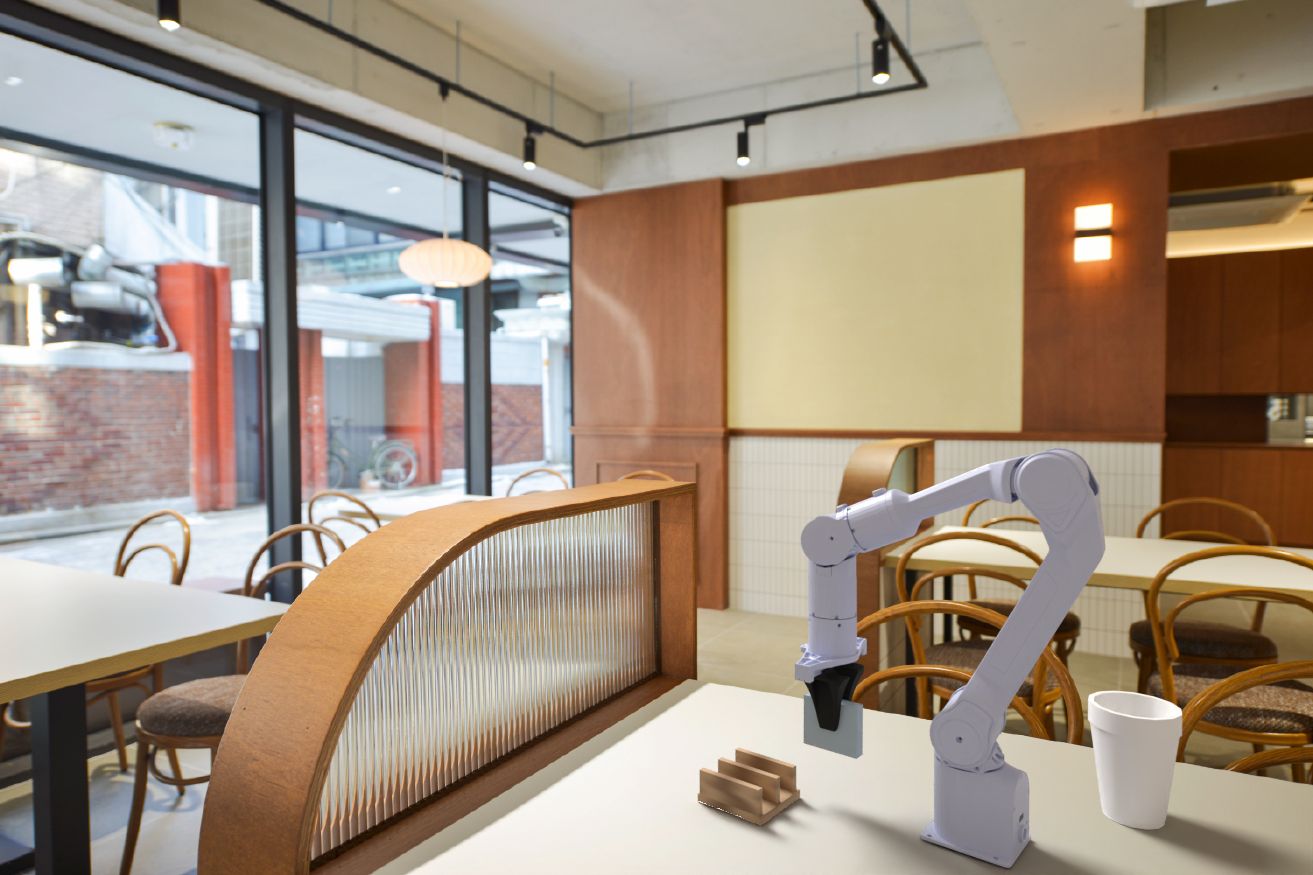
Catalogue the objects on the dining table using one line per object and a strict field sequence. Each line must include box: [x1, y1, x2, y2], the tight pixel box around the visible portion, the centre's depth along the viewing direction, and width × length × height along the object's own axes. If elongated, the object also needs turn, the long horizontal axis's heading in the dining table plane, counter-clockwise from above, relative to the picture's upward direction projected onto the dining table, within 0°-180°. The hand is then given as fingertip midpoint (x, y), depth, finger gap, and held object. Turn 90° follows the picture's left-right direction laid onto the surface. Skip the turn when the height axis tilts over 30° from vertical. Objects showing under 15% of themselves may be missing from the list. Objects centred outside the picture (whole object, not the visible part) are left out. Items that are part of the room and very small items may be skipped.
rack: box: [697, 747, 801, 826], centre depth 97 cm, size 9×9×4 cm
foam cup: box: [1087, 690, 1183, 831], centre depth 93 cm, size 10×9×13 cm
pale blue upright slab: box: [803, 691, 864, 760], centre depth 97 cm, size 7×2×6 cm, turn 50°
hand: (832, 726), depth 97 cm, fingers closed on pale blue upright slab, 2 cm apart
